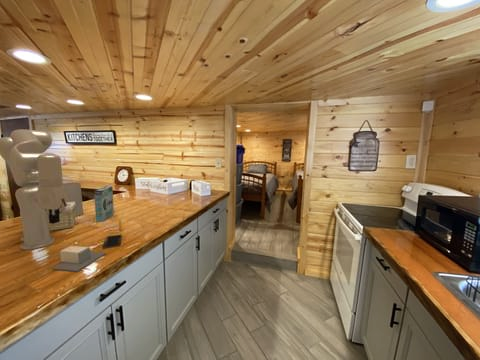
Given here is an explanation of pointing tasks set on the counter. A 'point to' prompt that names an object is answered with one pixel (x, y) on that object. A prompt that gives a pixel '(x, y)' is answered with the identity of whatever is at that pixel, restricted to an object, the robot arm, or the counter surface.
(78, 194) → the tall grey box
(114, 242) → the phone
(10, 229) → the counter surface
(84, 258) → the block
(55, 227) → the storage basket
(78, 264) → the mat
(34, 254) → the counter surface
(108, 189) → the teal rectangular box
